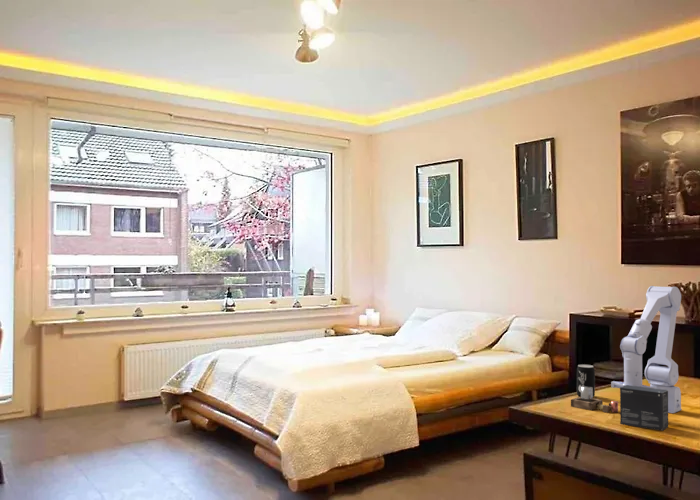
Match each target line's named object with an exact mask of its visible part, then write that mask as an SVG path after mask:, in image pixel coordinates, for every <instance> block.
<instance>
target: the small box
mask: <svg viewBox="0 0 700 500" xmlns="http://www.w3.org/2000/svg"><path fill="white" fill-rule="evenodd" d="M619 393H620V394H619V397H620V399H619V400H620V401H619V409H620V411H619V414H620V415H619V416H620V421H619V423H620V425H624V424H625V425H626V426H630V427H636V428H642V429H643V428H644V429H650V430H655V431H662V432H663V431H665V430H666V429H668V428H669V412H668V390H663V389H655V388H647V387H639V386H631V385H625V386H623V387H620V388H619ZM625 425H624V426H625Z"/></svg>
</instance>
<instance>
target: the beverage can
mask: <svg viewBox="0 0 700 500" xmlns="http://www.w3.org/2000/svg"><path fill="white" fill-rule="evenodd" d="M595 372H596V371H595V368H594V365H591V364H578V365H577V367H576V394H577V396H578V397H581V387H582V386H588V387H592V388H593V398H594V396H595V394H596V392H595V391H596V390H595V389H596V387H595V386H596V385H595V384H596V378H595V377H596V373H595Z"/></svg>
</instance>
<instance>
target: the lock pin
mask: <svg viewBox="0 0 700 500" xmlns="http://www.w3.org/2000/svg"><path fill="white" fill-rule="evenodd" d="M610 403H611V406H610V411H611V412H610V413H613V412H614V414H618V413H619V401H616V400H611V402H610ZM603 405H604V404H603ZM603 405H601V404H596V409H595V410H599V409H600V411H603Z"/></svg>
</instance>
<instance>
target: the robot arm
mask: <svg viewBox="0 0 700 500" xmlns="http://www.w3.org/2000/svg"><path fill="white" fill-rule="evenodd" d="M645 299H646V303H645V306H644V308H643V311H642V314H641V315H640V318H639V319H636V320H635V321H634V323H633V324H632V327H631V329H630V331H629V333H628V335H627V336H624V337H623V338H622V339H621V341H620V345H619V348H620V349H619V350H621V353H622V354H621V355H622V356H621V357H622V358H623V381H615V380H613V381H611V382H610V383H611V384H610V386H611V388H614V389H615V388H617V389H620V387H623V386H625V385H631V386H639V387H647V388H655V389H663V390H668V414H669V413H670V414H675V413H677V412H680V411H682V392H681V388H680V387H679V386H675V385H676V384H677V382H678V381H679V377H680V376H679V365H678V364H677V362H675V361H674V359H672V352H673V347H674V346H673V345H674V337H675V329H676V322H677V315H678V314H677V312H679V311H680V308H681V304H682V302H681V301H682V293H681V291H680V289H679V288H678V287H677V286H656V285H655V286H654V285H650V286H649V287H648V288H647V290H646V293H645ZM659 312H660V313H659ZM658 313H659V314H660V316H659V322H658V323H659V324H658V330H657V337H656V345H655V353H654V355H653V356H652V357H651V358H648V360H647V364H646V366H645V368H644V377H645V379H646V380H647V383H648V384H649V385H645V384H643V354H644V353H645V352H646V349H647V343H648V337H649V335H650V333H651V331H652V328H653V326H652V324H651V323H652V322H653V321H654V320H655V319H654V318H655V317H656V316H657V314H658Z"/></svg>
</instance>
